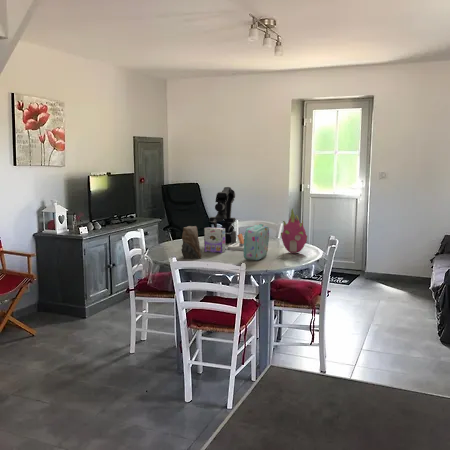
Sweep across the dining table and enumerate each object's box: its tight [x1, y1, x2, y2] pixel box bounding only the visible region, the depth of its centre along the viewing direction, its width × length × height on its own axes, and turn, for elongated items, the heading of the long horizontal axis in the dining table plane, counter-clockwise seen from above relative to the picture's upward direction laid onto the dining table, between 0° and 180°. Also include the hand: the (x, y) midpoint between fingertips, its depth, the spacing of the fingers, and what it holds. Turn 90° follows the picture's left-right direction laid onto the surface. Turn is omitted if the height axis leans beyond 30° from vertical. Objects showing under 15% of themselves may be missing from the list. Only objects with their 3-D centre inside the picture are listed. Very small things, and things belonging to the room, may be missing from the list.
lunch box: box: [243, 223, 270, 261], centre depth 317 cm, size 27×10×21 cm, turn 159°
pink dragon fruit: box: [280, 208, 308, 254], centre depth 330 cm, size 18×14×30 cm
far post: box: [230, 230, 237, 245], centre depth 364 cm, size 5×5×10 cm
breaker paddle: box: [236, 233, 244, 245], centre depth 350 cm, size 2×6×8 cm, turn 158°
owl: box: [181, 225, 202, 260], centre depth 320 cm, size 13×13×20 cm
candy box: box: [203, 226, 226, 254], centre depth 338 cm, size 14×6×16 cm, turn 65°
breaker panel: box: [227, 242, 244, 251], centre depth 350 cm, size 16×14×4 cm
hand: (222, 231), depth 355 cm, fingers open, 9 cm apart
